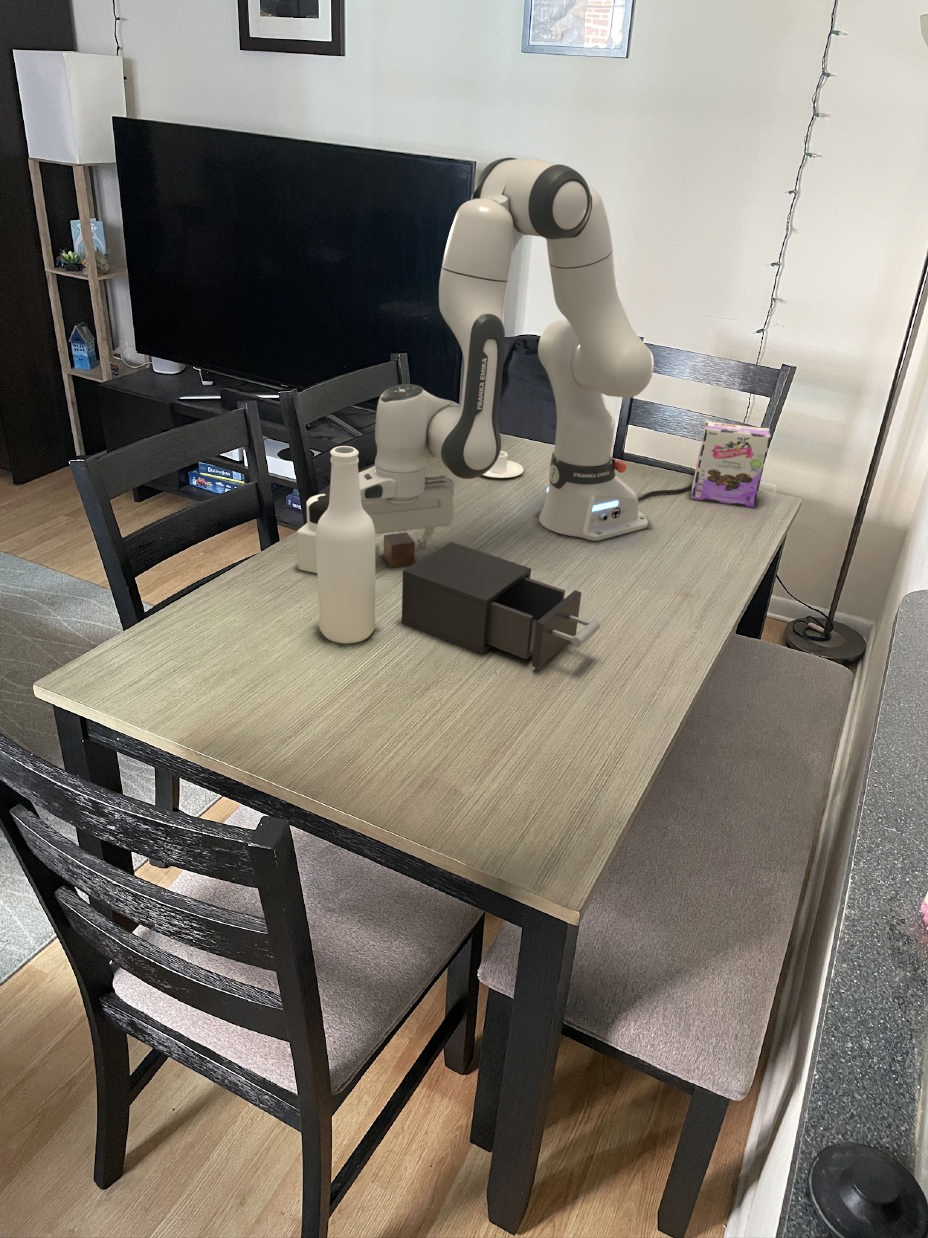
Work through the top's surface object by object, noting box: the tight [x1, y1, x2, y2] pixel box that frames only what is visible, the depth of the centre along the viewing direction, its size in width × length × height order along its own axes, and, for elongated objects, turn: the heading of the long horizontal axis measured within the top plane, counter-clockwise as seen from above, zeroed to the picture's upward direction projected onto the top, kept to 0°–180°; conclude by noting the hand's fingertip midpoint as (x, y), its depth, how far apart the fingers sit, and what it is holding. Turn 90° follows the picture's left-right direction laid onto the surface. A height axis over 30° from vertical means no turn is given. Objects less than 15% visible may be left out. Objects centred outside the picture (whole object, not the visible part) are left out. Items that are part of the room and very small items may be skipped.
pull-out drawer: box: [486, 577, 601, 669], centre depth 138 cm, size 20×12×8 cm, turn 57°
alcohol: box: [316, 445, 376, 644], centre depth 134 cm, size 9×9×30 cm
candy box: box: [691, 420, 772, 508], centre depth 195 cm, size 14×6×16 cm, turn 76°
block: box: [383, 531, 416, 568], centre depth 163 cm, size 4×4×4 cm
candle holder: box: [482, 450, 524, 479], centre depth 205 cm, size 12×12×4 cm
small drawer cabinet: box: [401, 541, 532, 655], centre depth 144 cm, size 16×14×10 cm
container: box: [296, 493, 330, 574], centre depth 158 cm, size 8×8×13 cm
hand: (398, 551), depth 163 cm, fingers open, 8 cm apart
